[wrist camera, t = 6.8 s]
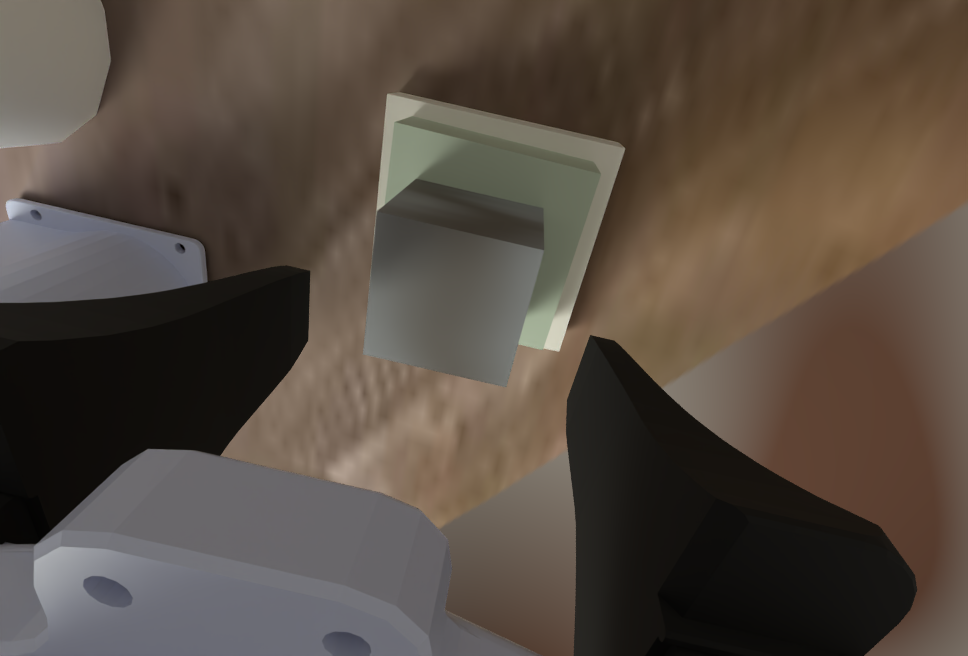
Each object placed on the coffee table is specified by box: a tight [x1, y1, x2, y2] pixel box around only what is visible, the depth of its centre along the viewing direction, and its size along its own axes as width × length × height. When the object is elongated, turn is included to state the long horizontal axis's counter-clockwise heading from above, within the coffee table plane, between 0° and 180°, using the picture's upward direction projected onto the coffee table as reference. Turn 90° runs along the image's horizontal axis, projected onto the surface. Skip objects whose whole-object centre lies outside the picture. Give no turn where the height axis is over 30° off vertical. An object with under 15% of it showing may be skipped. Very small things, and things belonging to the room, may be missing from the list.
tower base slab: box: [368, 92, 625, 351], centre depth 21 cm, size 9×9×2 cm
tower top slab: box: [385, 116, 601, 350], centre depth 18 cm, size 7×7×2 cm
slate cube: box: [363, 179, 544, 387], centre depth 16 cm, size 4×4×4 cm
